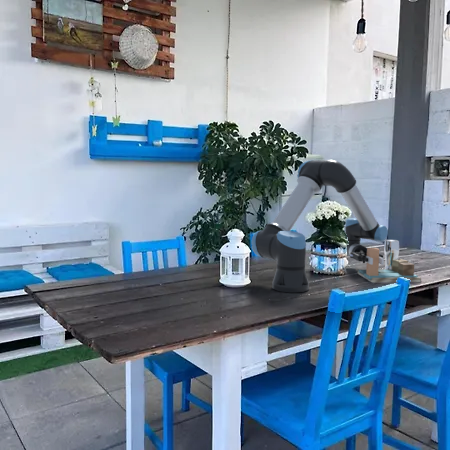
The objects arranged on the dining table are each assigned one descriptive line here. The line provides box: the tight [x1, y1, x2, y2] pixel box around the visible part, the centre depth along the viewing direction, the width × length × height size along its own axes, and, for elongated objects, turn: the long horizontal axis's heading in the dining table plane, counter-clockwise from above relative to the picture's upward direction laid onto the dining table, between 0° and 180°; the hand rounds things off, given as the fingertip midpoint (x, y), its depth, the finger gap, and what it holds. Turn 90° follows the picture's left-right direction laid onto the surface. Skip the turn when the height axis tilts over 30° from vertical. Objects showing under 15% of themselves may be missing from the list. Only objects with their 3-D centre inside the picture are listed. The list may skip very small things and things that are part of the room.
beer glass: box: [383, 239, 400, 269], centre depth 231 cm, size 7×7×15 cm
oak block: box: [392, 258, 409, 272], centre depth 220 cm, size 5×5×5 cm
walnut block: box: [398, 262, 415, 276], centre depth 211 cm, size 5×5×5 cm
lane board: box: [357, 268, 422, 284], centre depth 216 cm, size 22×19×2 cm
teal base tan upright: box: [364, 247, 419, 279], centre depth 210 cm, size 22×7×13 cm, turn 93°
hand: (377, 261), depth 204 cm, fingers closed on teal base tan upright, 4 cm apart
